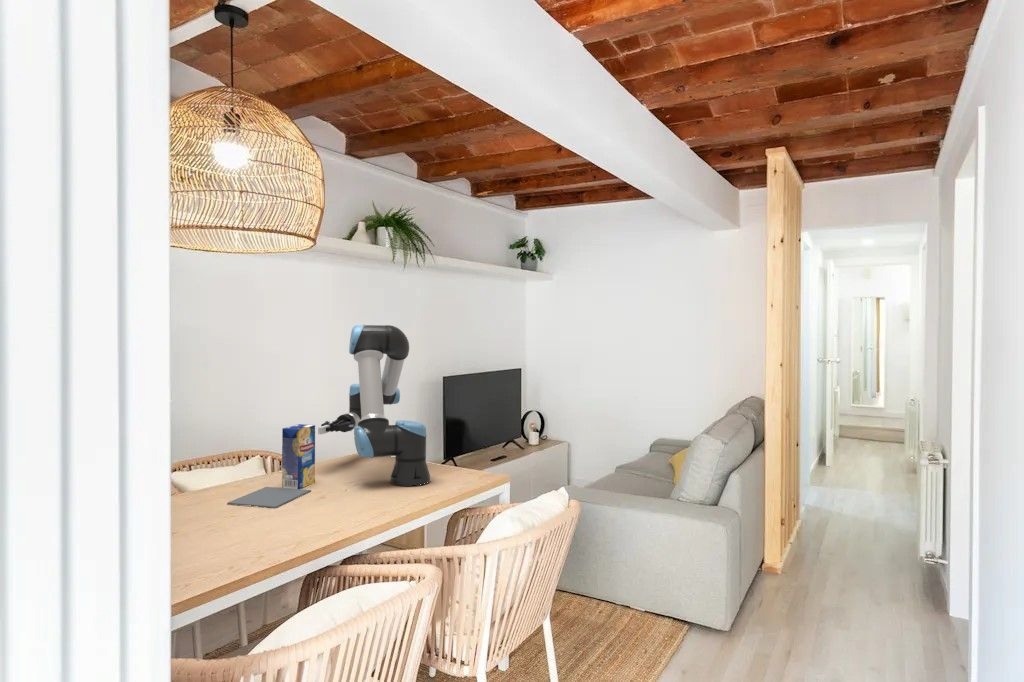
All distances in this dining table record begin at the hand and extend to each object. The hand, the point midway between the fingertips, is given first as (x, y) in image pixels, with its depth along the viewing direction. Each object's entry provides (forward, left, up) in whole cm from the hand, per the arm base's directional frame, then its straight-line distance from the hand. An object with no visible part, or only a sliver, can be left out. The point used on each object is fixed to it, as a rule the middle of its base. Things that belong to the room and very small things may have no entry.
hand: (319, 430), depth 255 cm
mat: (0, +33, -18) cm, 38 cm away
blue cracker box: (0, +15, -18) cm, 24 cm away
